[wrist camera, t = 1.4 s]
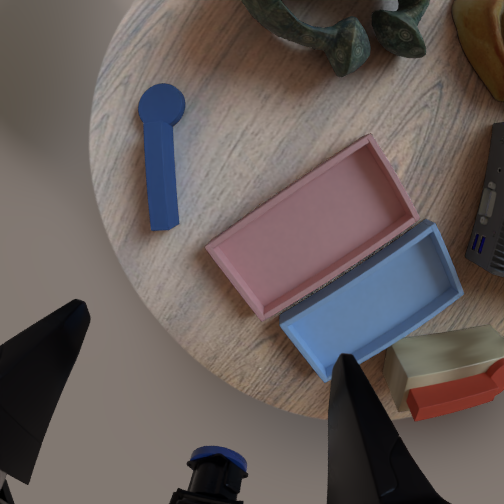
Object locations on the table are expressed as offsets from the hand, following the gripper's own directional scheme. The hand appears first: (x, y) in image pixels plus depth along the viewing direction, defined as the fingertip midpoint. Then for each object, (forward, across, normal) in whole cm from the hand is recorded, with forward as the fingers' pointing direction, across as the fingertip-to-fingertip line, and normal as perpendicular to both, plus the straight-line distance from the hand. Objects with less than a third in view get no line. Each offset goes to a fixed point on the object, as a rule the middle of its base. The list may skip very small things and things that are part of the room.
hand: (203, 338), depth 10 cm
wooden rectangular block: (+12, -21, +13) cm, 27 cm away
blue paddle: (+16, +8, 0) cm, 18 cm away
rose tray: (+15, -5, +4) cm, 16 cm away
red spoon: (+6, -21, +11) cm, 24 cm away
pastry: (+22, -23, -17) cm, 36 cm away
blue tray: (+14, -11, +9) cm, 20 cm away
